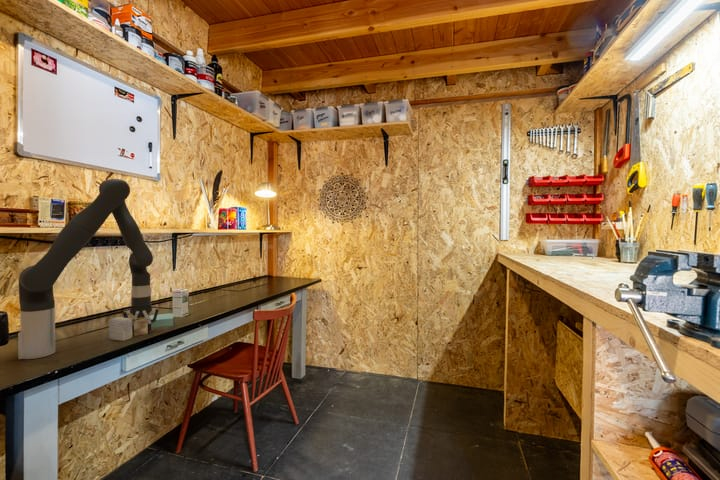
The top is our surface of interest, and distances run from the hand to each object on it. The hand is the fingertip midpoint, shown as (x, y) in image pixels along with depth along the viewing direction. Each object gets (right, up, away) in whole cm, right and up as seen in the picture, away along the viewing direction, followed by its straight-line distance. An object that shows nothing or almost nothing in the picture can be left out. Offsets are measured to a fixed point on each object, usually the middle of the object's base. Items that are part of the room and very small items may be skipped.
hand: (141, 332), depth 151 cm
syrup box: (+2, 0, +30) cm, 30 cm away
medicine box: (-4, -1, -8) cm, 9 cm away
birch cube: (0, 0, 0) cm, 0 cm away
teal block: (0, 0, +15) cm, 15 cm away
